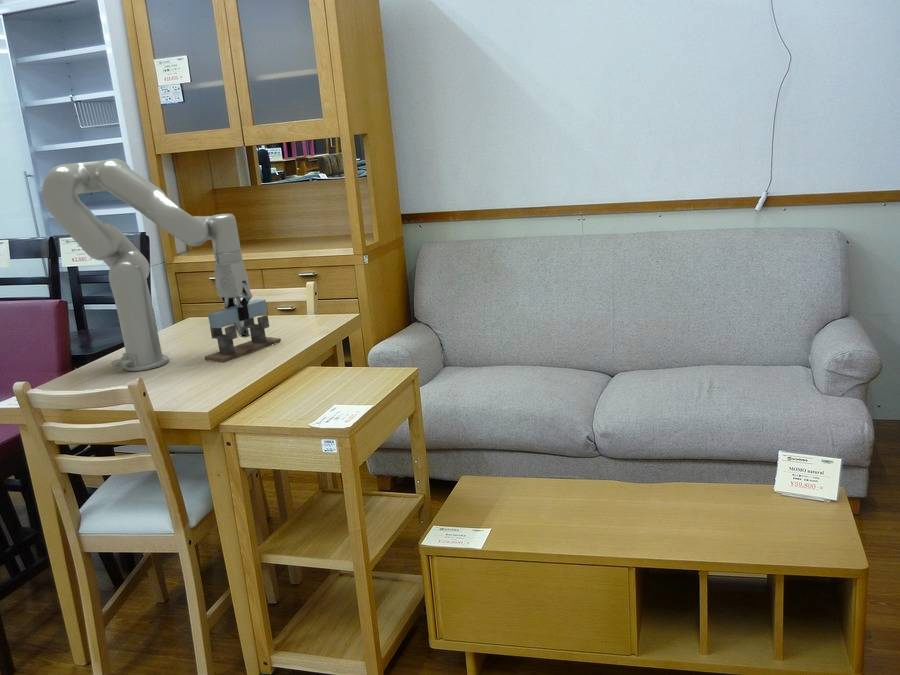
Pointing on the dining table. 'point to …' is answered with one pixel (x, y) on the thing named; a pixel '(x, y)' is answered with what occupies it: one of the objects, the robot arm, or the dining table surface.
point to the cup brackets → (231, 351)
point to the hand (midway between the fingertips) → (239, 318)
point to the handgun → (241, 326)
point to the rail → (236, 314)
